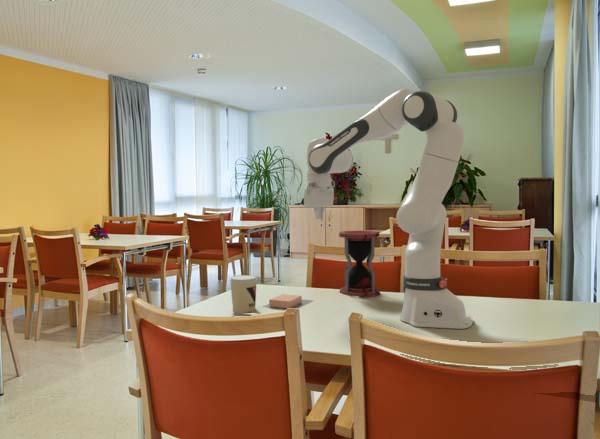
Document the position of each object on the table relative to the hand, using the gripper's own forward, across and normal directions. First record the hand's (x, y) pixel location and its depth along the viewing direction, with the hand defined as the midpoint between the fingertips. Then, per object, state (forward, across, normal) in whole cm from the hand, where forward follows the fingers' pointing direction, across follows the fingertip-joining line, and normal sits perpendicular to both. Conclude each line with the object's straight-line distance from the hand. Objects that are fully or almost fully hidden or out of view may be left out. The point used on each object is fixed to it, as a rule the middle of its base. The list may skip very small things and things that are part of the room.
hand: (319, 219), depth 194 cm
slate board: (+31, -13, +7) cm, 34 cm away
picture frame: (+29, -10, +7) cm, 31 cm away
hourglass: (+31, +17, -10) cm, 37 cm away
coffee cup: (+31, -26, +18) cm, 44 cm away
